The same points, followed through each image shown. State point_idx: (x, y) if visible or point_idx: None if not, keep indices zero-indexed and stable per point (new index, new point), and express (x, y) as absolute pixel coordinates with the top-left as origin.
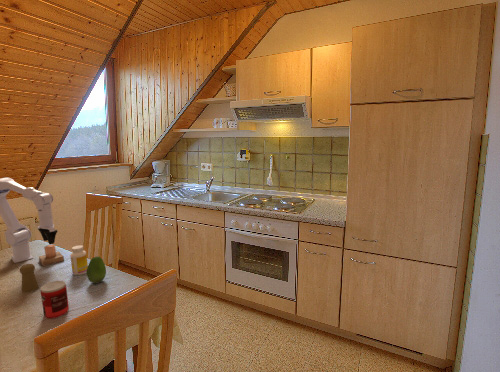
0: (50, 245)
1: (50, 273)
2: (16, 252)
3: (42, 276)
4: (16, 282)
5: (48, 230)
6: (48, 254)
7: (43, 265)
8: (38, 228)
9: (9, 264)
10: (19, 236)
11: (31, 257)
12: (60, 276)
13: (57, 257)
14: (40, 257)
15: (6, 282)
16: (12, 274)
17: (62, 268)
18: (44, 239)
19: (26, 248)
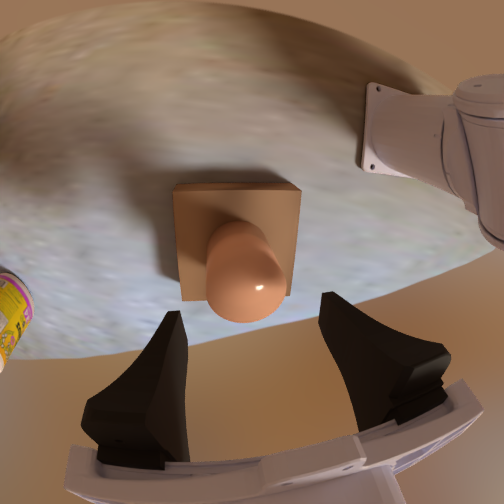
0: (265, 299)
1: (52, 199)
2: (414, 101)
3: (41, 162)
4: (60, 53)
5: (143, 460)
6: (212, 245)
7: (180, 184)
8: (272, 455)
9: (370, 62)
10: (502, 147)
11: (373, 166)
12: (7, 230)
13: (182, 273)
14: (272, 194)
15: (99, 13)
16: (188, 30)
17: (78, 255)
18: (327, 304)
19: (415, 160)
